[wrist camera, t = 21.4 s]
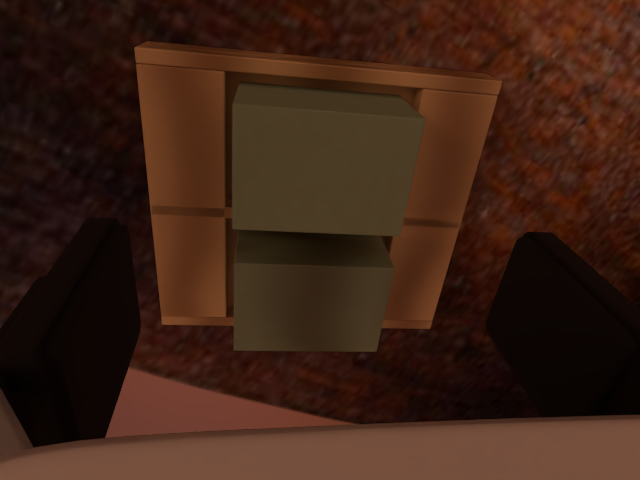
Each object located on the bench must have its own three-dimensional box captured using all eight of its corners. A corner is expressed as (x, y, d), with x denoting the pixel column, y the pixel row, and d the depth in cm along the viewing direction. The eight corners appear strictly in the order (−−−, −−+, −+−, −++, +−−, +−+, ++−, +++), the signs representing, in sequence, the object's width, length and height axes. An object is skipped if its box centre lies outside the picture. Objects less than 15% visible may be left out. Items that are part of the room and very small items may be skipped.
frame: (169, 301, 25) (148, 367, 21) (146, 40, 18) (107, 58, 14) (420, 307, 27) (448, 368, 23) (484, 72, 20) (540, 97, 16)
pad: (238, 189, 21) (231, 230, 18) (239, 81, 19) (232, 103, 15) (380, 197, 22) (400, 237, 19) (399, 94, 20) (426, 118, 16)
